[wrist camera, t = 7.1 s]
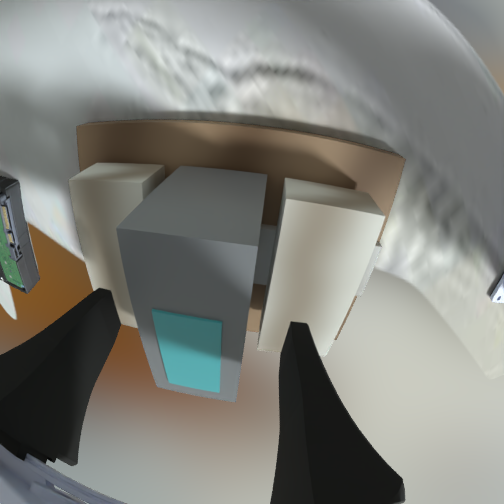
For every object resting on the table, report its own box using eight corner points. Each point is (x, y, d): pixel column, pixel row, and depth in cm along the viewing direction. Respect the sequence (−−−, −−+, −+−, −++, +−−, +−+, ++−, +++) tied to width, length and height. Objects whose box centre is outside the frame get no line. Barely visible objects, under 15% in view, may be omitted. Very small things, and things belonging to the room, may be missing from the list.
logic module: (267, 174, 12) (258, 248, 7) (247, 316, 17) (235, 403, 12) (180, 165, 12) (114, 229, 7) (185, 306, 17) (156, 388, 12)
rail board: (397, 154, 12) (434, 179, 9) (334, 329, 19) (340, 374, 16) (86, 123, 12) (39, 140, 9) (114, 295, 20) (91, 332, 16)
